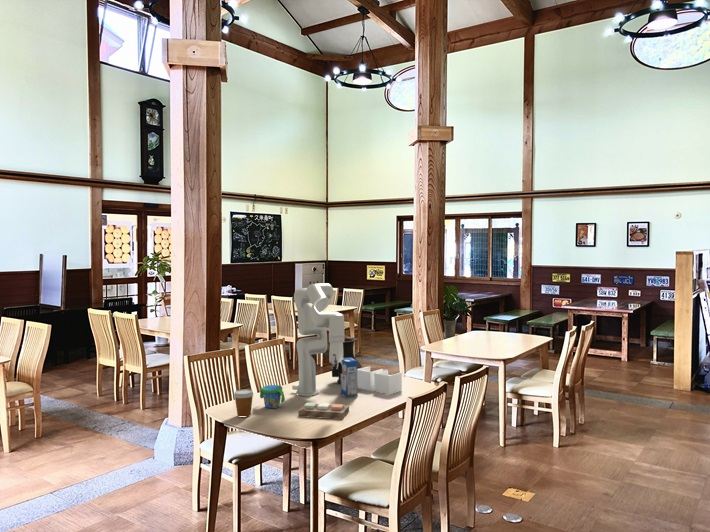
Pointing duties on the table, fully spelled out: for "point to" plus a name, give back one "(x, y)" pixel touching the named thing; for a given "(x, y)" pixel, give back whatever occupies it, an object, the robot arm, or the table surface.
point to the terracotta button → (337, 407)
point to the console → (324, 412)
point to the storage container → (379, 380)
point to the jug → (348, 351)
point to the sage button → (310, 405)
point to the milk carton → (349, 377)
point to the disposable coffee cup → (243, 402)
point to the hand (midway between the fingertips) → (337, 374)
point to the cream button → (323, 406)
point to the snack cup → (272, 395)
